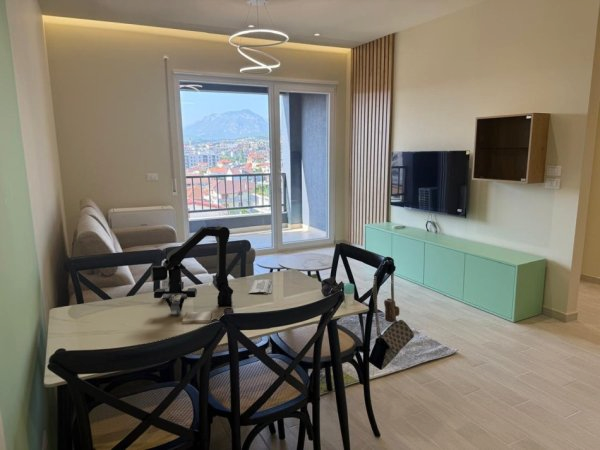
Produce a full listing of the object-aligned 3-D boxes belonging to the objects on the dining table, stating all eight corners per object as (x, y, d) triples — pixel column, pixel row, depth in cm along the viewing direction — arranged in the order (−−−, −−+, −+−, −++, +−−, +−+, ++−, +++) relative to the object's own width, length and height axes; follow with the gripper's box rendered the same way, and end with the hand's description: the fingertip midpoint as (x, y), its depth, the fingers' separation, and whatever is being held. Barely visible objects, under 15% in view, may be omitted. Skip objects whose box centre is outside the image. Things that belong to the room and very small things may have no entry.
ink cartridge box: (170, 292, 225) (169, 265, 222) (178, 292, 224) (177, 266, 221) (162, 297, 216) (160, 270, 214) (171, 298, 215) (169, 270, 213)
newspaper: (271, 295, 223) (270, 290, 222) (248, 297, 223) (248, 292, 223) (274, 282, 245) (274, 278, 245) (254, 284, 246) (253, 279, 245)
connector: (182, 308, 201) (182, 298, 200) (177, 318, 190) (177, 307, 189) (174, 308, 201) (174, 299, 200) (169, 318, 189) (169, 307, 188)
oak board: (212, 314, 195) (212, 311, 194) (209, 322, 185) (209, 320, 185) (186, 314, 194) (186, 312, 193) (182, 323, 184) (182, 320, 184)
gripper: (198, 273, 202) (199, 303, 205) (158, 273, 200) (160, 304, 203) (194, 280, 191) (195, 312, 194) (152, 280, 189) (154, 313, 192)
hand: (176, 310), depth 196 cm, fingers closed on connector, 4 cm apart
